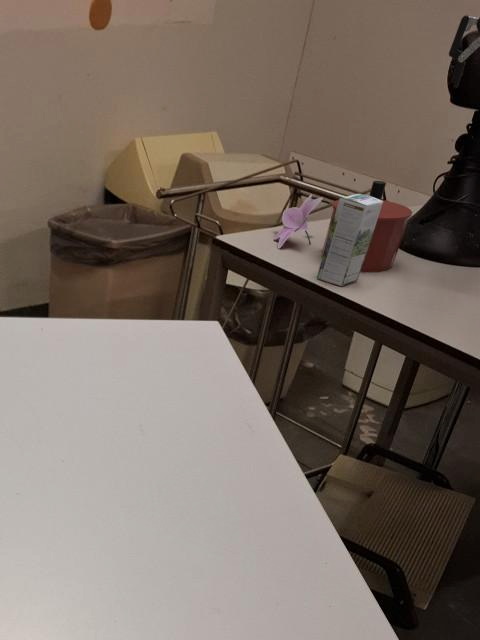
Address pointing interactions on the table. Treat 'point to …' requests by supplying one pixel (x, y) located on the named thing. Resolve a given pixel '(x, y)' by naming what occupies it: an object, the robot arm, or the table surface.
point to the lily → (296, 220)
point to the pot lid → (385, 205)
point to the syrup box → (349, 239)
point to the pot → (380, 244)
